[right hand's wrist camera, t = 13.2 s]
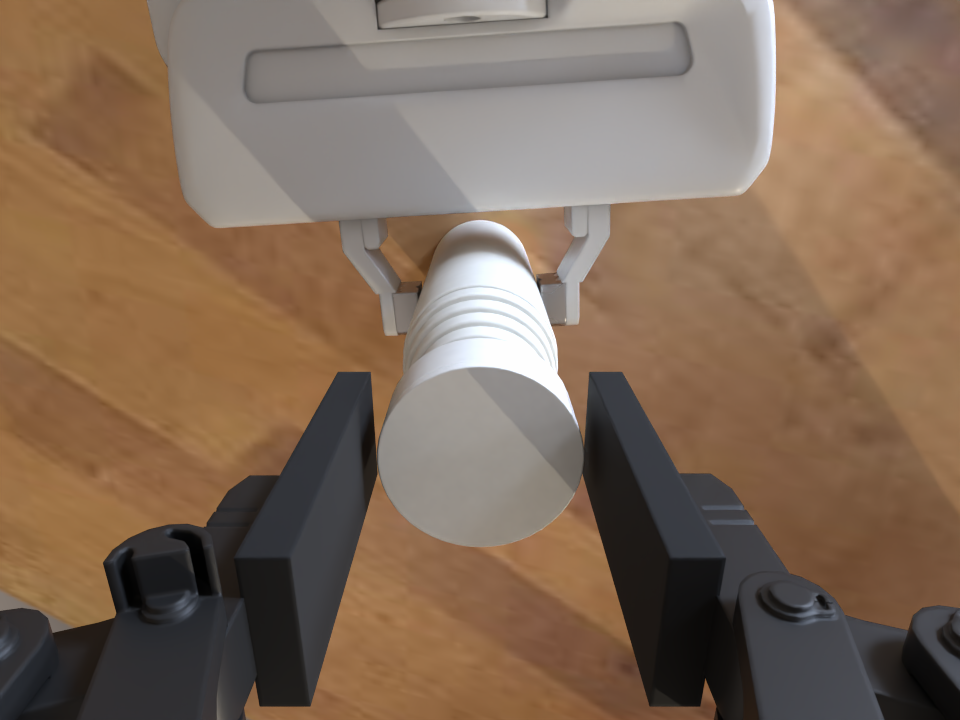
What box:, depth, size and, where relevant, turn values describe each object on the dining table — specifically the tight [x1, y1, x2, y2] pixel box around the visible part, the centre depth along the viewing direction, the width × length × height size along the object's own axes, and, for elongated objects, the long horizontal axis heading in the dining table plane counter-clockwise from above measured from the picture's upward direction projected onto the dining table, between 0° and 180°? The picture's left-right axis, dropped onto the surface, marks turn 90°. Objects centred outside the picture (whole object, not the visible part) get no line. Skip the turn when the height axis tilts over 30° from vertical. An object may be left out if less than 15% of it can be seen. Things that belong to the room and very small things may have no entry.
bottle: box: [403, 220, 558, 373], centre depth 22 cm, size 5×5×18 cm
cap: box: [377, 338, 584, 547], centre depth 14 cm, size 4×4×2 cm
